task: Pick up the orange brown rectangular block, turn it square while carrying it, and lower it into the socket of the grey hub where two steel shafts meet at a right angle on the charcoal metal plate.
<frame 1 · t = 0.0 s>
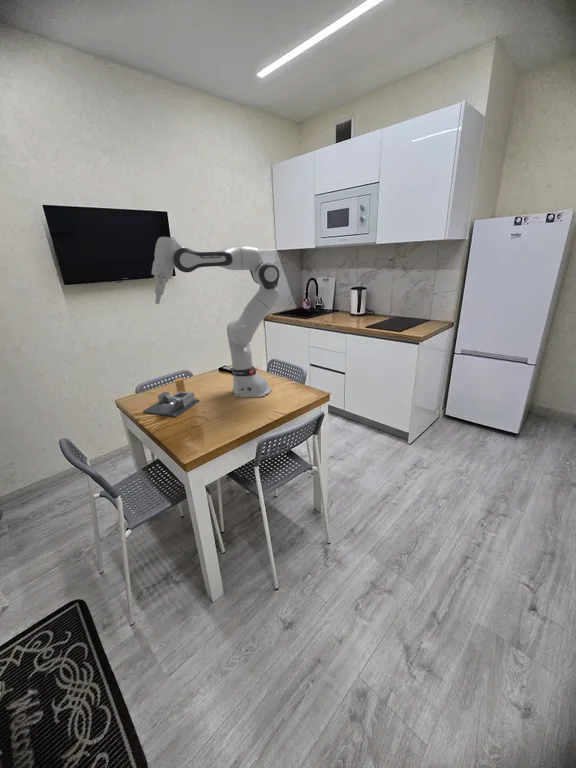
hand: (157, 302, 150), 52 cm above the table, tool tilted 20°, fingers open, 8 cm apart
orange brown rectangular block: (181, 394, 179), on the table
coupling frame: (182, 404, 165), on the table
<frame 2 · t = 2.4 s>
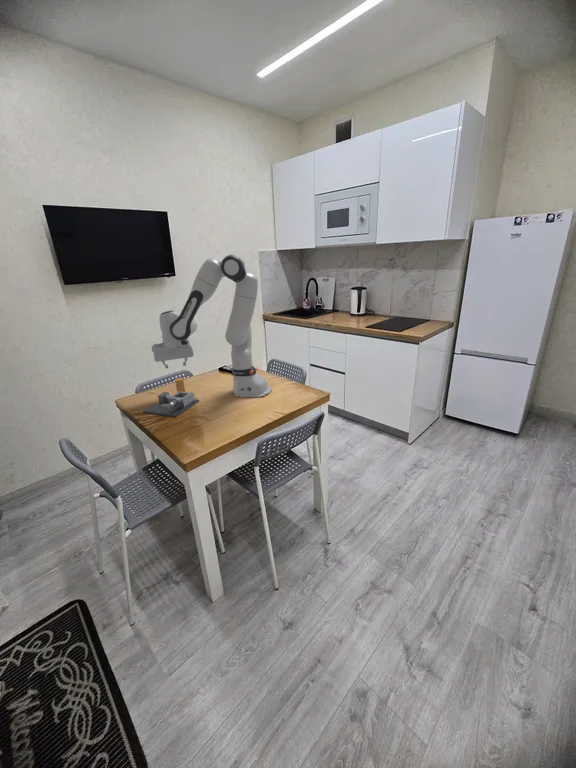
hand: (175, 366, 173), 16 cm above the table, tool pointing down, fingers open, 8 cm apart
nothing on the table moved.
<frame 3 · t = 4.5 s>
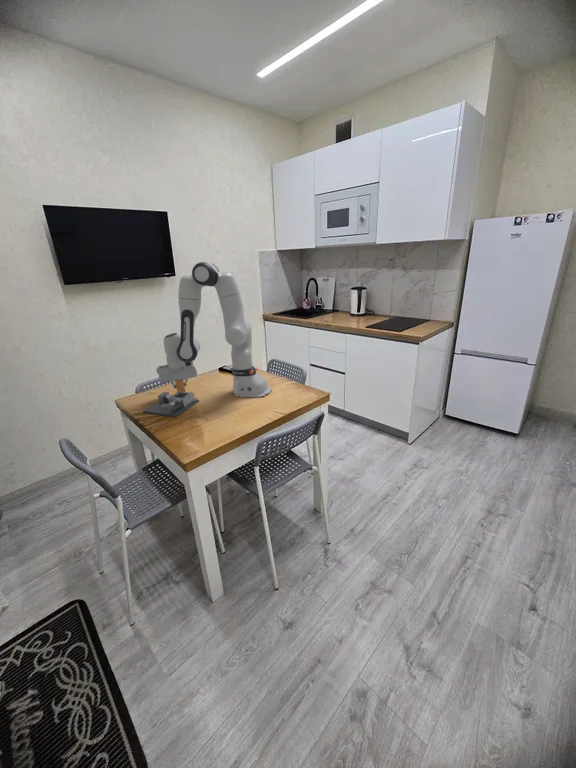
hand: (180, 386, 177), 5 cm above the table, tool pointing down, fingers closed on orange brown rectangular block, 4 cm apart
orange brown rectangular block: (181, 394, 179), on the table, touching gripper
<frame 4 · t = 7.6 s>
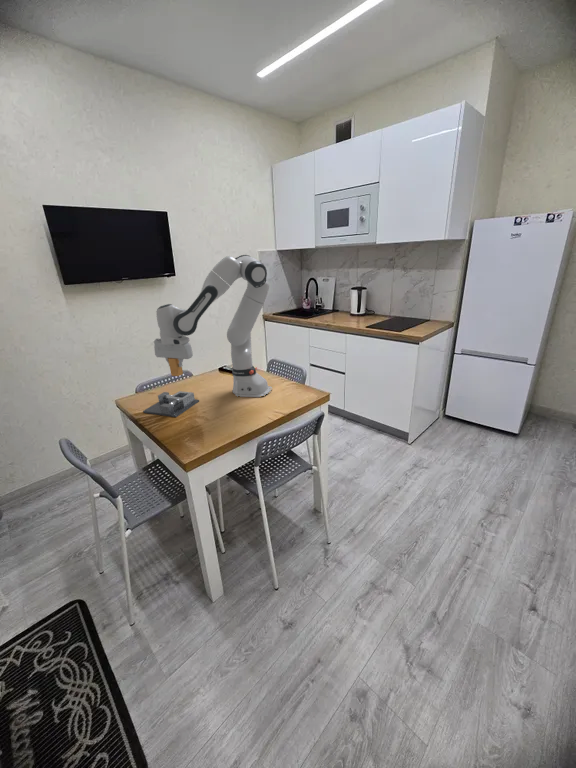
hand: (175, 366, 158), 21 cm above the table, tool pointing down, fingers closed on orange brown rectangular block, 4 cm apart
orange brown rectangular block: (177, 374, 159), point 17 cm above the table, touching gripper
when the fingers open (7 cm above the table, at t = 11.0 s): orange brown rectangular block drops 1 cm, resting on coupling frame.
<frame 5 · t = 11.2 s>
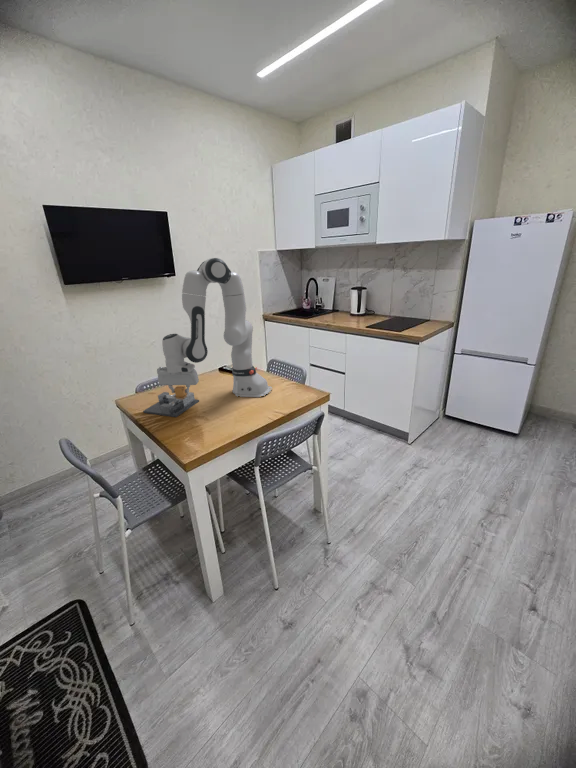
hand: (180, 392, 162), 7 cm above the table, tool pointing down, fingers open, 6 cm apart
orange brown rectangular block: (182, 403, 164), point 1 cm above the table, touching coupling frame
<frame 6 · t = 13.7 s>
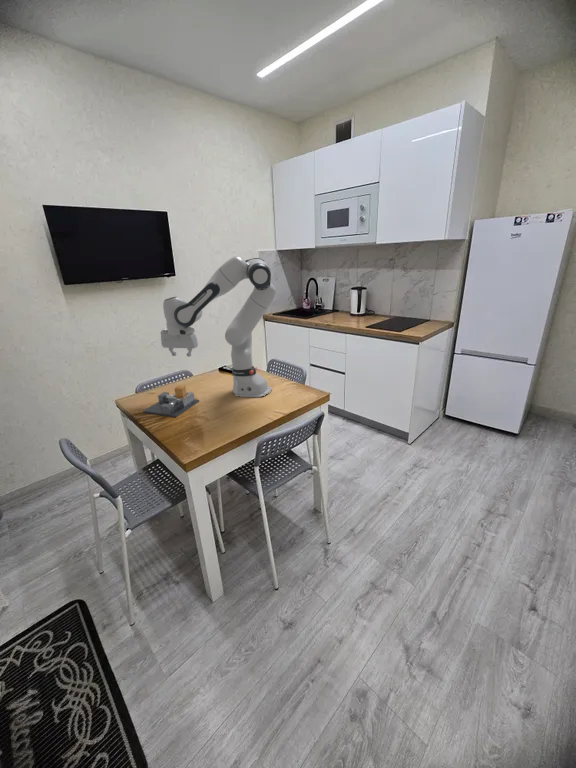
hand: (181, 355, 166), 23 cm above the table, tool pointing down, fingers open, 8 cm apart
nothing on the table moved.
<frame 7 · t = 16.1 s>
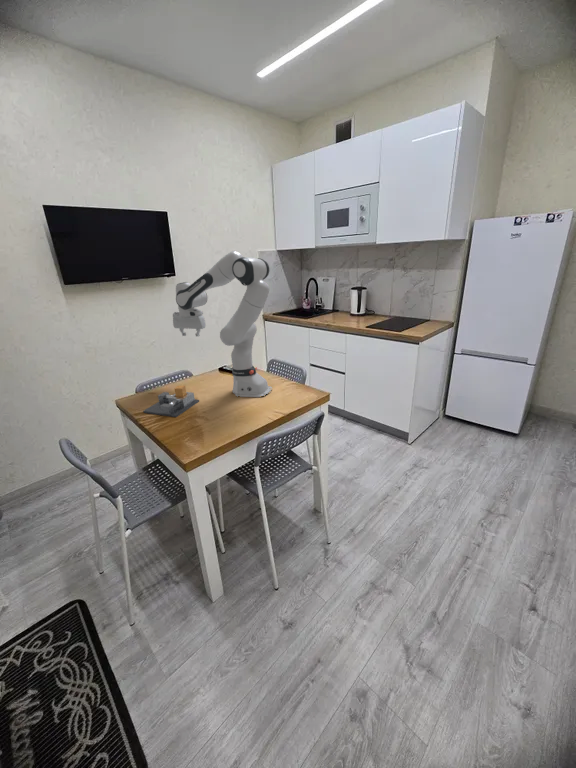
hand: (190, 336, 185), 29 cm above the table, tool pointing down, fingers open, 8 cm apart
nothing on the table moved.
at the end: orange brown rectangular block 0.1 cm off-centre on the coupling frame, point 1.0 cm above the coupling frame's base; orange brown rectangular block tilted 0°; the gripper is holding nothing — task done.
